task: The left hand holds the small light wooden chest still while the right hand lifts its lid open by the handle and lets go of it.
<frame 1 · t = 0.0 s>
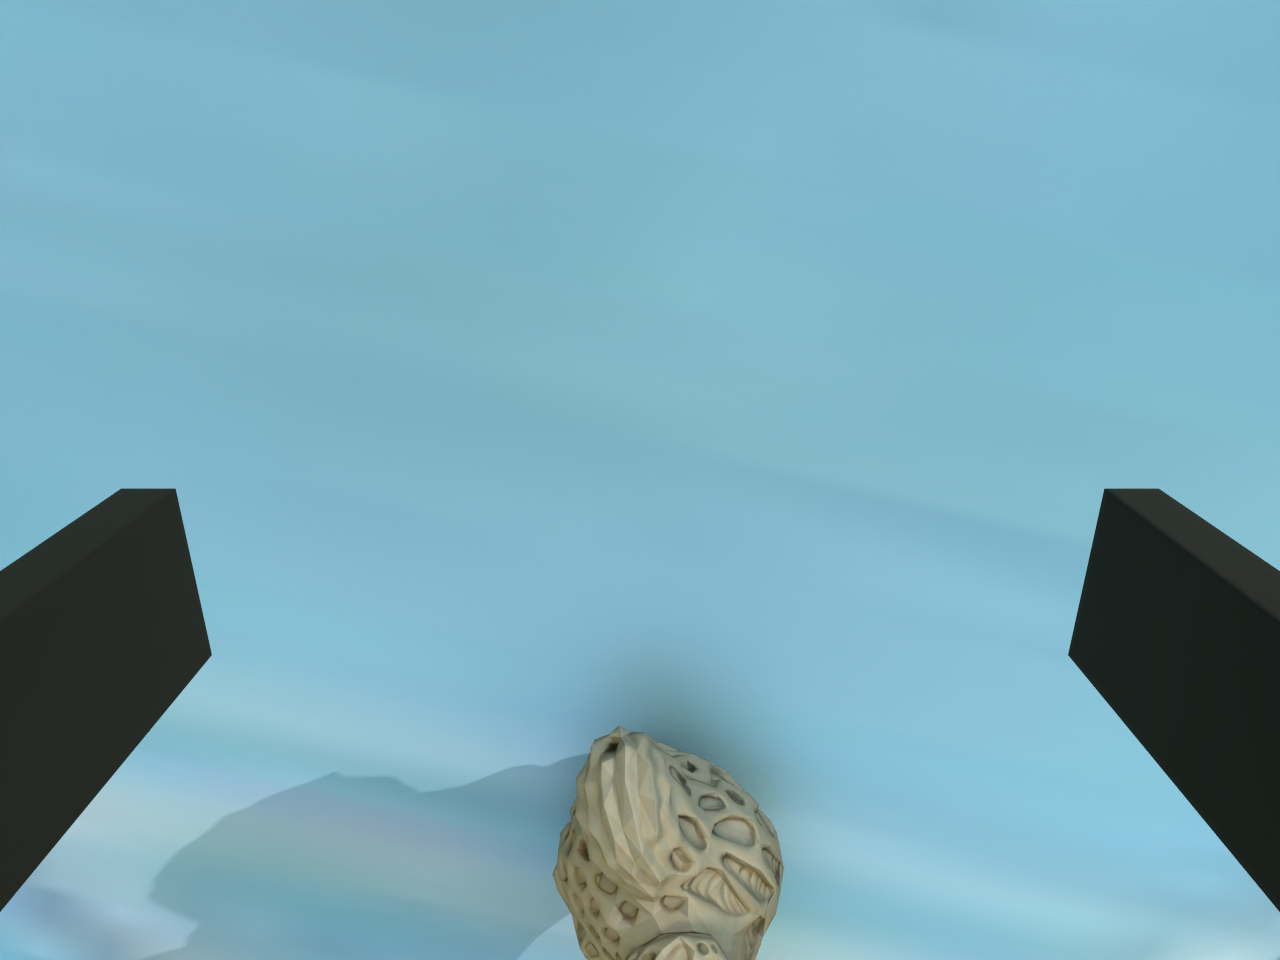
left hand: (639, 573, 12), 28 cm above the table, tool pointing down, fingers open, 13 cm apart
teapot: (668, 802, 50), on the table
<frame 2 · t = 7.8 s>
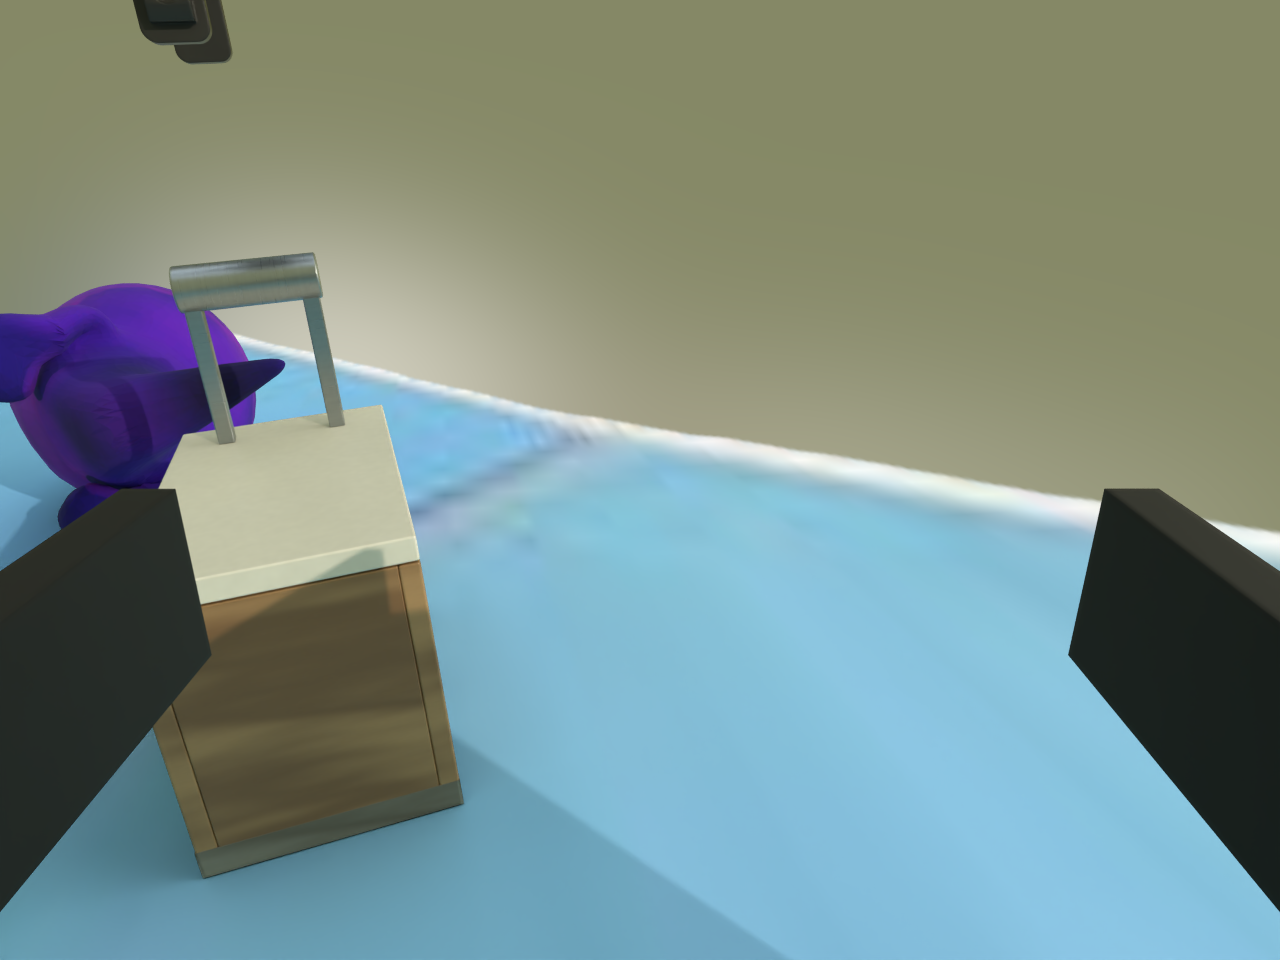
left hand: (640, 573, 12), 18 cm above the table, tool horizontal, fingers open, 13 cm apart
lid: (258, 393, 33), point 15 cm above the table, hinge at 0.0°
toy: (182, 512, 61), on the table
chest: (334, 711, 39), on the table
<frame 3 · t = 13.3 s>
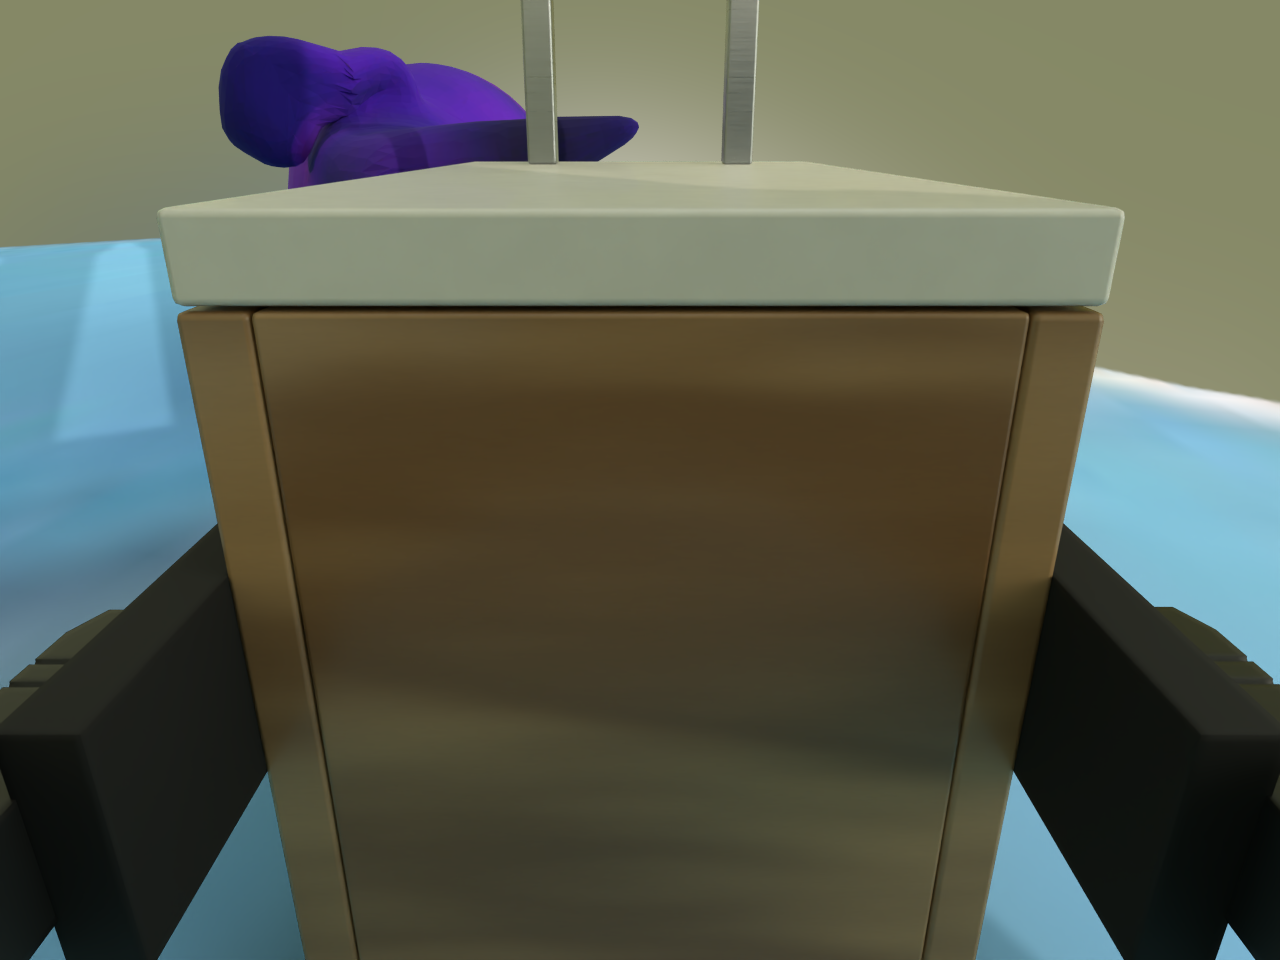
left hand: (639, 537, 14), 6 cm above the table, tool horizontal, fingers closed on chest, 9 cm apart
toy: (457, 373, 47), on the table
chest: (640, 697, 20), on the table, touching left hand
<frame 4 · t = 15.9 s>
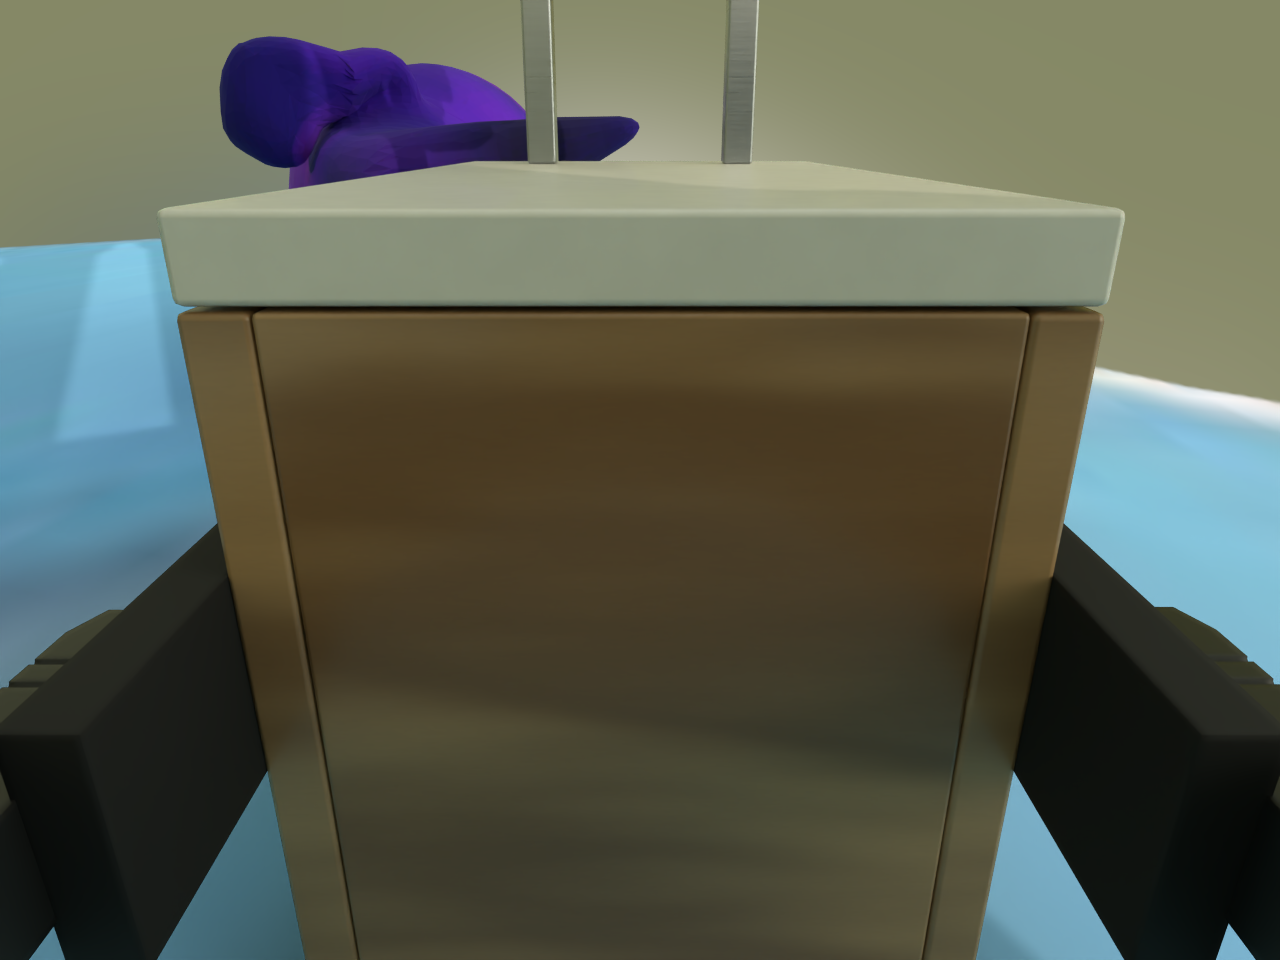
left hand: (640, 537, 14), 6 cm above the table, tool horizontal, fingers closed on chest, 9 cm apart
toy: (458, 374, 47), on the table
chest: (640, 697, 20), on the table, touching left hand
when the left hand's fingers open (6 cm above the table, at t = 23.1 s): chest stays where it is, on the table.
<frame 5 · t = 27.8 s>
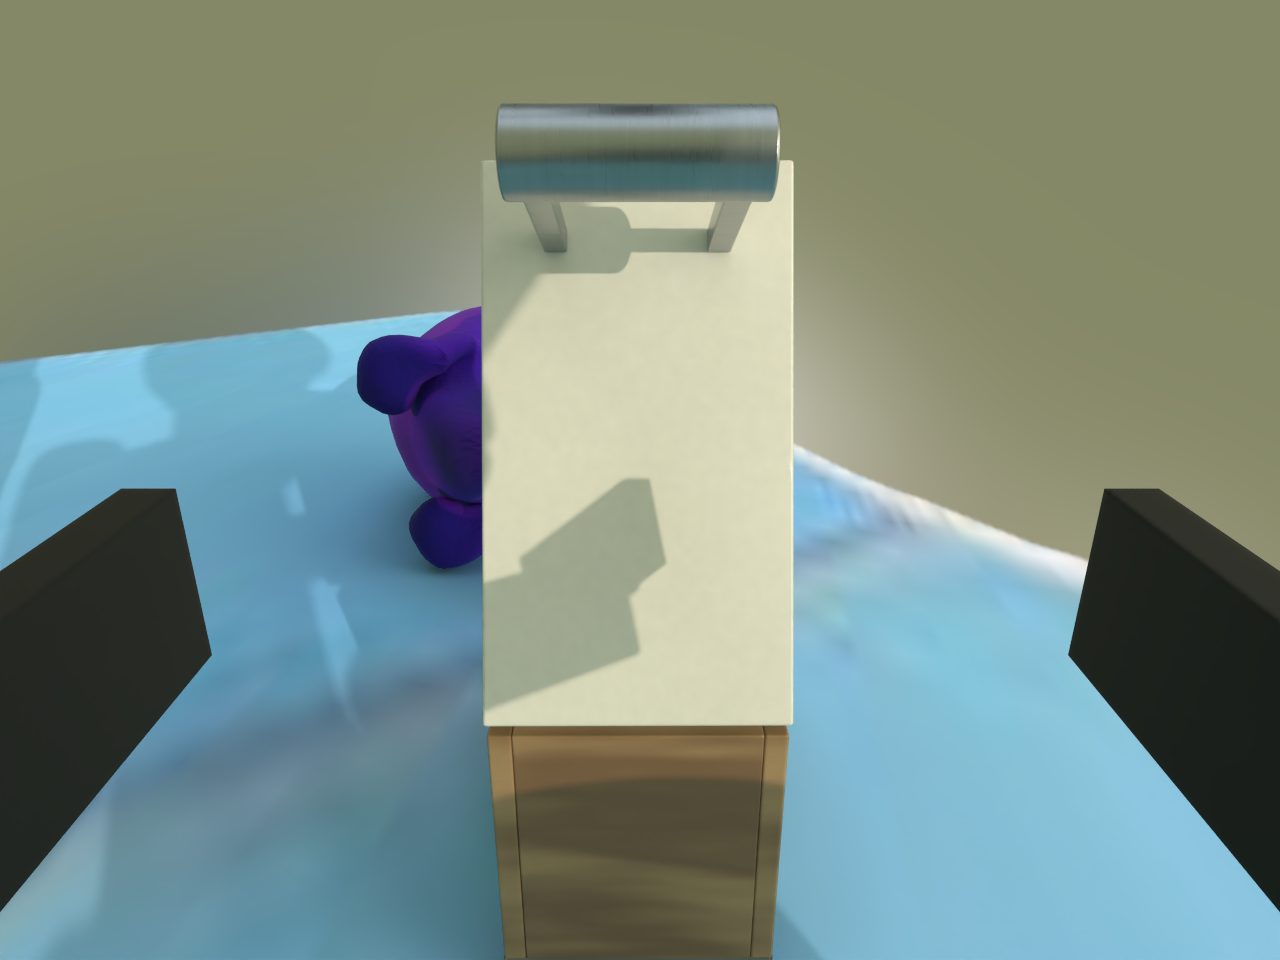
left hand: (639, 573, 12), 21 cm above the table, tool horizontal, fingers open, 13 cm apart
lid: (637, 439, 22), point 20 cm above the table, hinge at 68.8°
toy: (507, 528, 64), on the table
chest: (637, 810, 37), on the table
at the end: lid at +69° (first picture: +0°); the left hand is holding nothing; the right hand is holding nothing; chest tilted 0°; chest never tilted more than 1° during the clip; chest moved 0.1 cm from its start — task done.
